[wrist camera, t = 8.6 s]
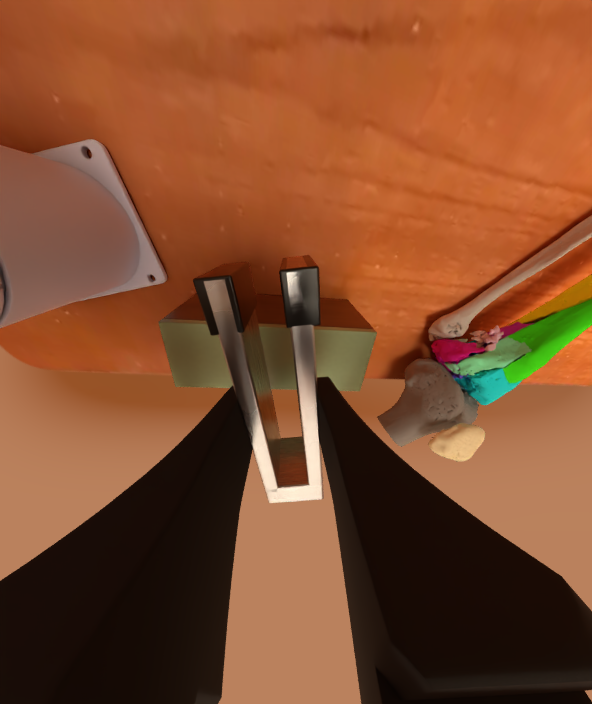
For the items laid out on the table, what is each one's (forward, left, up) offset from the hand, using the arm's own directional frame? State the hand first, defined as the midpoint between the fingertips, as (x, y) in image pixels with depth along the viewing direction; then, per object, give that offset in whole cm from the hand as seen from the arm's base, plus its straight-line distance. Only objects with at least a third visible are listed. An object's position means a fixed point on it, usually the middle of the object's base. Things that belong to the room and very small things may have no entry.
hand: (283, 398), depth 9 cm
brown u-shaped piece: (0, 0, -1) cm, 1 cm away
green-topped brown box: (-1, 0, -10) cm, 10 cm away
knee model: (+19, -6, -5) cm, 21 cm away
